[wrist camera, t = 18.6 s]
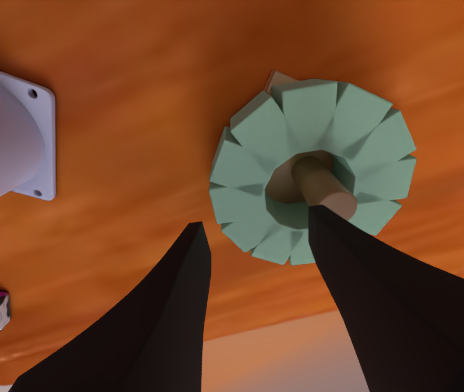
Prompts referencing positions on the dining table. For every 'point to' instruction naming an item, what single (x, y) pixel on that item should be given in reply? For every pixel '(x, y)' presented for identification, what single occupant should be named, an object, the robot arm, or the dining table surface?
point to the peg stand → (308, 174)
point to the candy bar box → (4, 309)
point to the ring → (305, 140)
